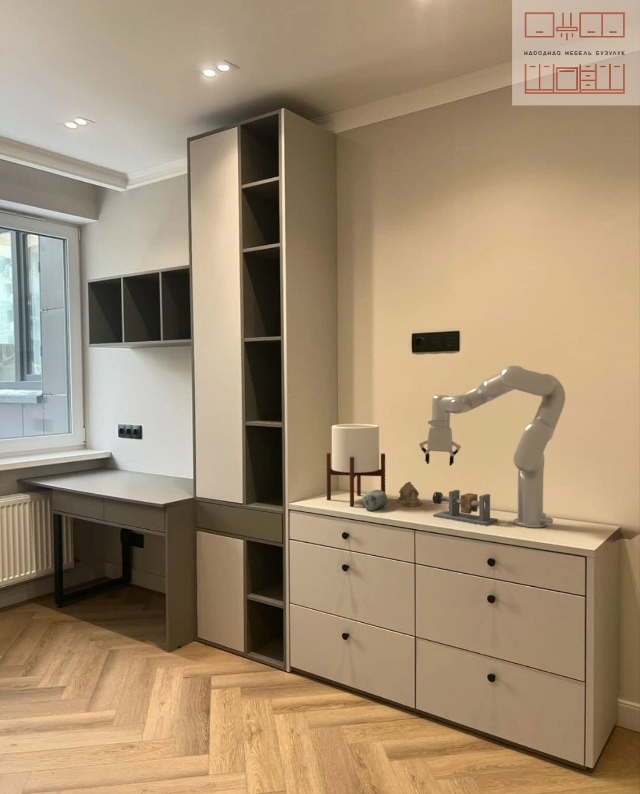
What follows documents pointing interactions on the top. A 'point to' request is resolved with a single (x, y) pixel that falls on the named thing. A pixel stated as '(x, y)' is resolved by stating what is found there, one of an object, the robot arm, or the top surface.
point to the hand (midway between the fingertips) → (439, 464)
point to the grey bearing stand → (456, 515)
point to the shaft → (439, 498)
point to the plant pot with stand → (355, 455)
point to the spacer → (468, 503)
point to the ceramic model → (408, 495)
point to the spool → (374, 500)
